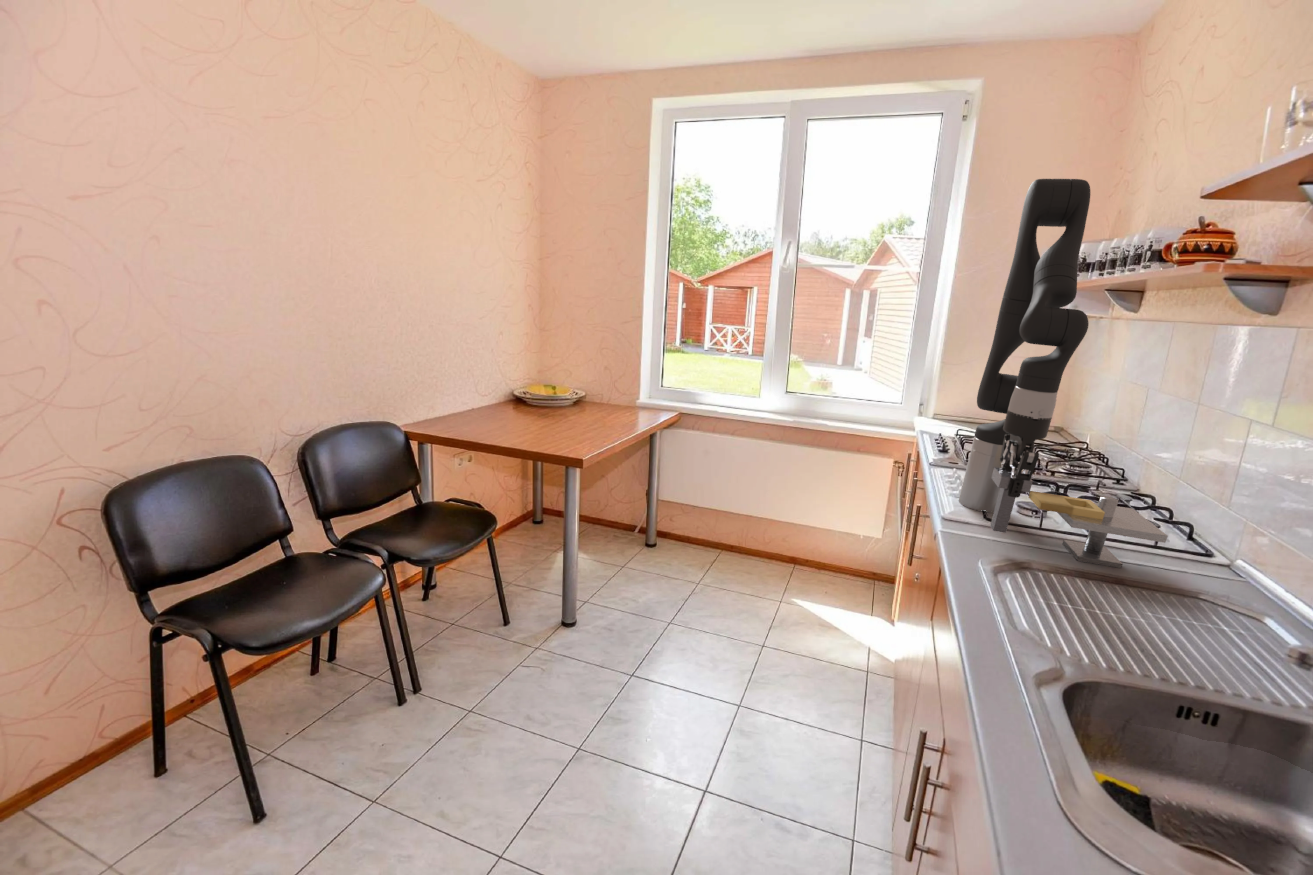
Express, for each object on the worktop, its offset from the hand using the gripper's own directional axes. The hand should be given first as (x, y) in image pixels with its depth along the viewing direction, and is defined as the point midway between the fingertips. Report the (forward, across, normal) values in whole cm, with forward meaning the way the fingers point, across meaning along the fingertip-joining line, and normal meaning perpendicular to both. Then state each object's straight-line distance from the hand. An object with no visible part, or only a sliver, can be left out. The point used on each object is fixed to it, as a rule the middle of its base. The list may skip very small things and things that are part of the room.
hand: (1008, 490), depth 120 cm
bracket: (+3, -5, +13) cm, 14 cm away
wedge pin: (+9, 0, 0) cm, 9 cm away
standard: (+13, -5, +20) cm, 24 cm away
